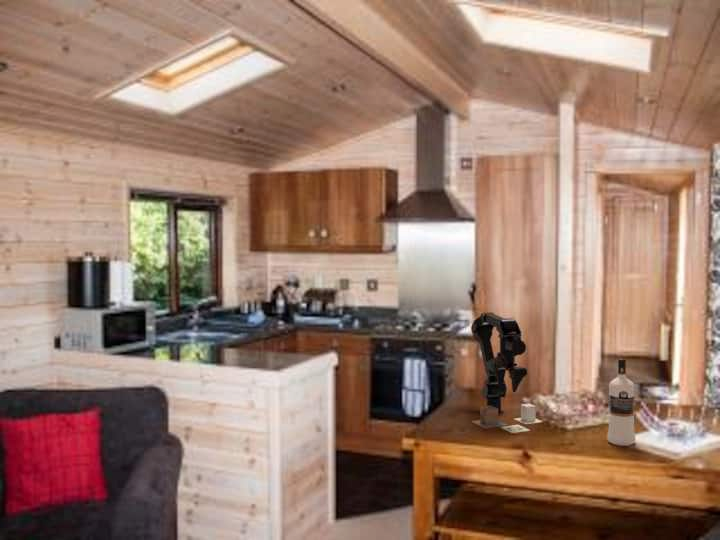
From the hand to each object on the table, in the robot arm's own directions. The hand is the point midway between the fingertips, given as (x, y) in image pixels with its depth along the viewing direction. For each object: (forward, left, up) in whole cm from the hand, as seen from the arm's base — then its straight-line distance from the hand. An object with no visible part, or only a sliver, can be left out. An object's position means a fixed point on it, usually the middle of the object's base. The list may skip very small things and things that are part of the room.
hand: (507, 389), depth 263 cm
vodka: (+39, +21, -13) cm, 46 cm away
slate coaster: (+1, -9, -12) cm, 15 cm away
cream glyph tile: (+11, -4, -12) cm, 17 cm away
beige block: (+4, +7, -12) cm, 15 cm away
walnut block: (+1, -9, -12) cm, 15 cm away
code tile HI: (+4, +7, -12) cm, 15 cm away
